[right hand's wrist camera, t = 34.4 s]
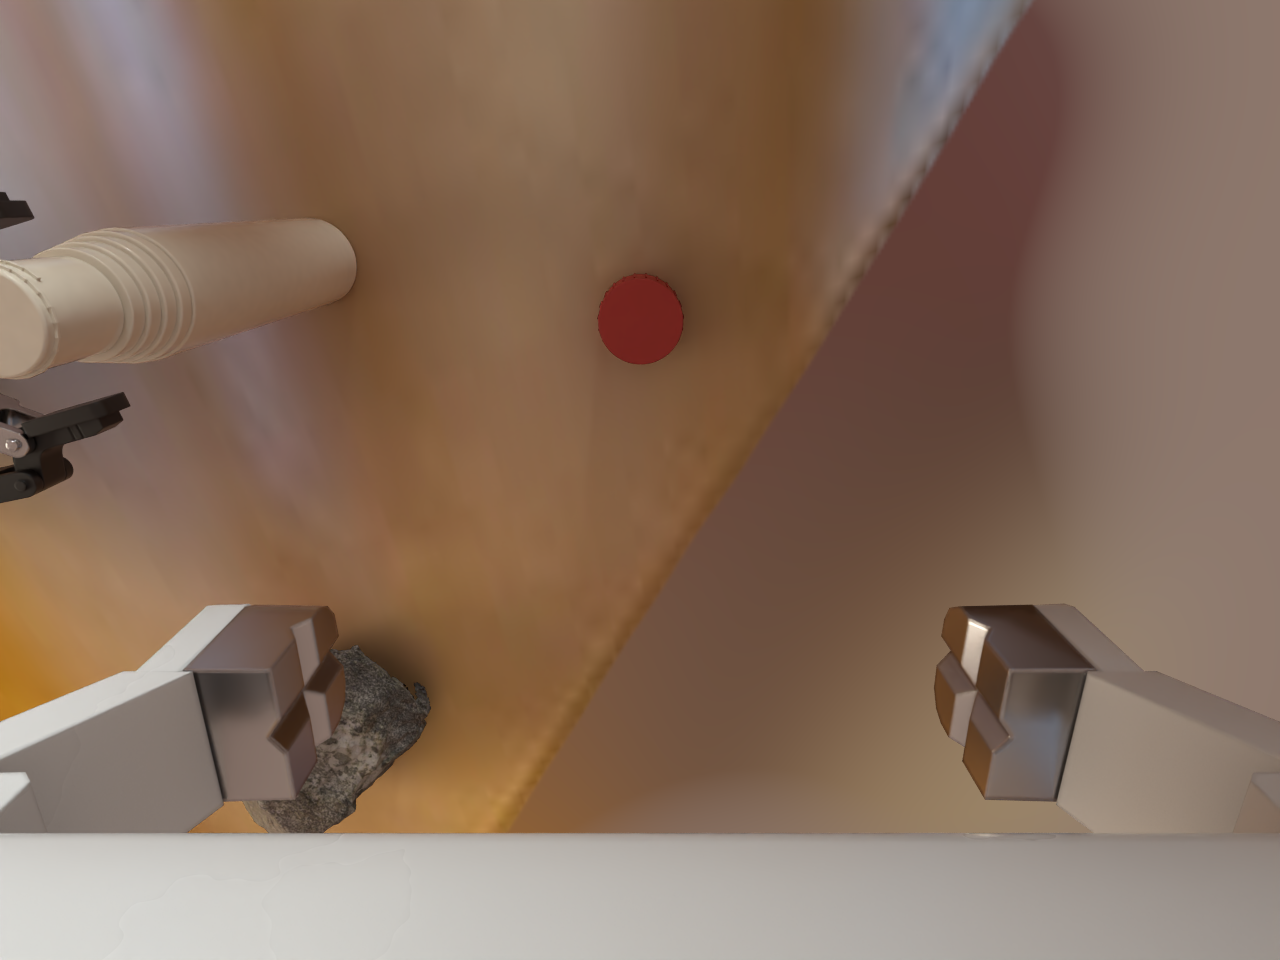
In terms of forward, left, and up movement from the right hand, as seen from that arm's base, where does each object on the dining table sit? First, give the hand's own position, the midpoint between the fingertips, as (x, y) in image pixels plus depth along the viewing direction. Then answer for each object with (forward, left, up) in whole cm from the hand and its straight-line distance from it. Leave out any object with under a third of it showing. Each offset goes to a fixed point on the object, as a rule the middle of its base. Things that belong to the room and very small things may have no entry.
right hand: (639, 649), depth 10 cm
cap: (0, 0, -29) cm, 29 cm away
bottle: (+13, -11, -31) cm, 35 cm away
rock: (+28, +12, -31) cm, 43 cm away
